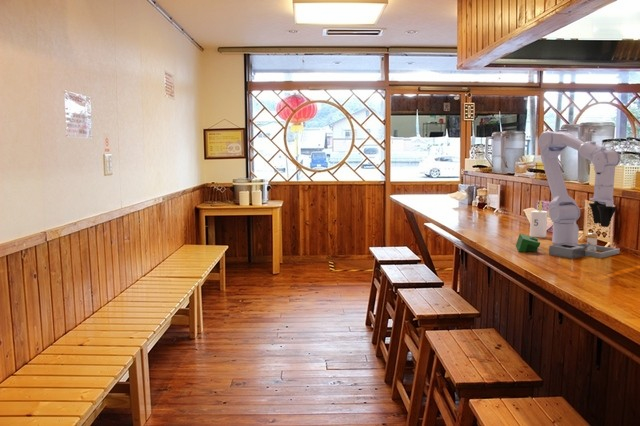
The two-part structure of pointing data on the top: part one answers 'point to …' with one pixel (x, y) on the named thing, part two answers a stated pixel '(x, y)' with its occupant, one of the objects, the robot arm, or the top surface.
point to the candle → (538, 222)
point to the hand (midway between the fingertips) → (601, 224)
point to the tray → (607, 250)
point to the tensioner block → (567, 250)
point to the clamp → (527, 243)
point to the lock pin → (591, 242)
